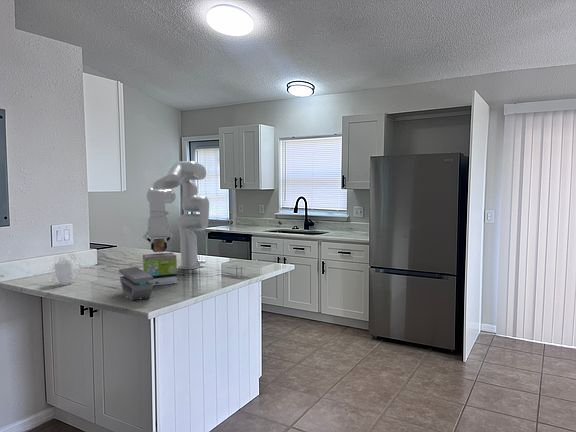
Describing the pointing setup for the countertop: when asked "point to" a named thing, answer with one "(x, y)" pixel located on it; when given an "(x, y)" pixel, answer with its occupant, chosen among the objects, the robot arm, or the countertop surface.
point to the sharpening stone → (136, 283)
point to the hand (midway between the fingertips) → (159, 250)
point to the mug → (65, 271)
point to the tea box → (161, 267)
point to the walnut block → (158, 245)
